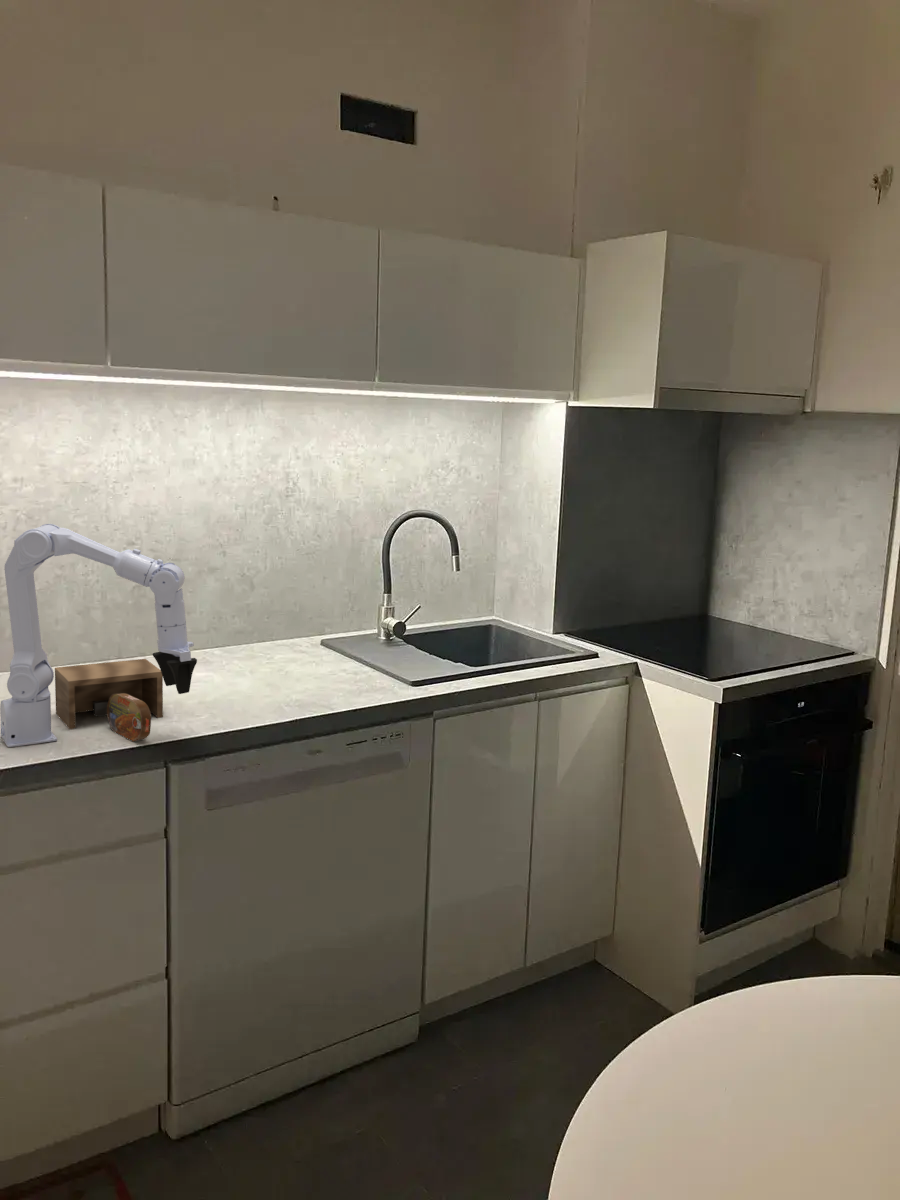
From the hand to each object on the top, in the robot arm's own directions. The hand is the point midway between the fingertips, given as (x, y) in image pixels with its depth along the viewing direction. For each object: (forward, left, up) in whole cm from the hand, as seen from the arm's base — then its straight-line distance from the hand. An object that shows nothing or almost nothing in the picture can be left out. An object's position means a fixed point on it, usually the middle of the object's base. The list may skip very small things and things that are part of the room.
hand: (177, 688), depth 207 cm
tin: (-7, +9, -12) cm, 17 cm away
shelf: (-7, +24, -12) cm, 28 cm away
